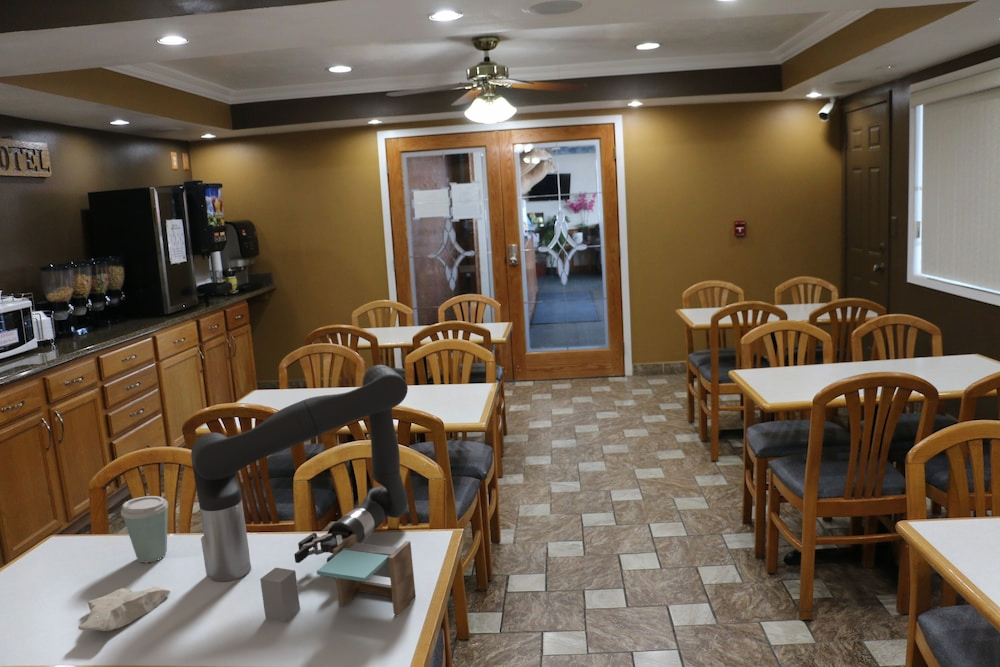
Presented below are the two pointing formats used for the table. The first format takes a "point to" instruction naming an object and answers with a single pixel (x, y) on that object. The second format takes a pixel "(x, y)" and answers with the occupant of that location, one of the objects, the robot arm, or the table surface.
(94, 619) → the rock
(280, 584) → the granite pillar
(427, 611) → the table surface
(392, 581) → the flap stand
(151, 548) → the disposable coffee cup
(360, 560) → the trapdoor flap
